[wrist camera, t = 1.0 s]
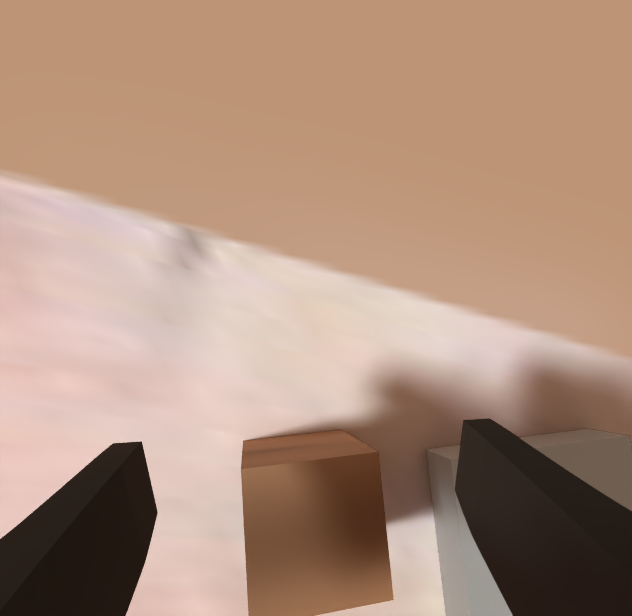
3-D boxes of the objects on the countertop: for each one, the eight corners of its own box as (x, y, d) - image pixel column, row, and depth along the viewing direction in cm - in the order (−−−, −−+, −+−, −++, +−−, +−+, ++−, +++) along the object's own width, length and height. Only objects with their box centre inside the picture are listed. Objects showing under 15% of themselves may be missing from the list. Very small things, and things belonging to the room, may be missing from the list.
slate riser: (614, 614, 22) (671, 652, 19) (446, 653, 20) (481, 701, 17) (581, 427, 23) (629, 435, 20) (422, 447, 21) (450, 459, 18)
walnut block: (350, 532, 20) (393, 599, 14) (248, 549, 19) (249, 628, 13) (341, 429, 20) (378, 451, 15) (243, 440, 19) (241, 469, 14)
